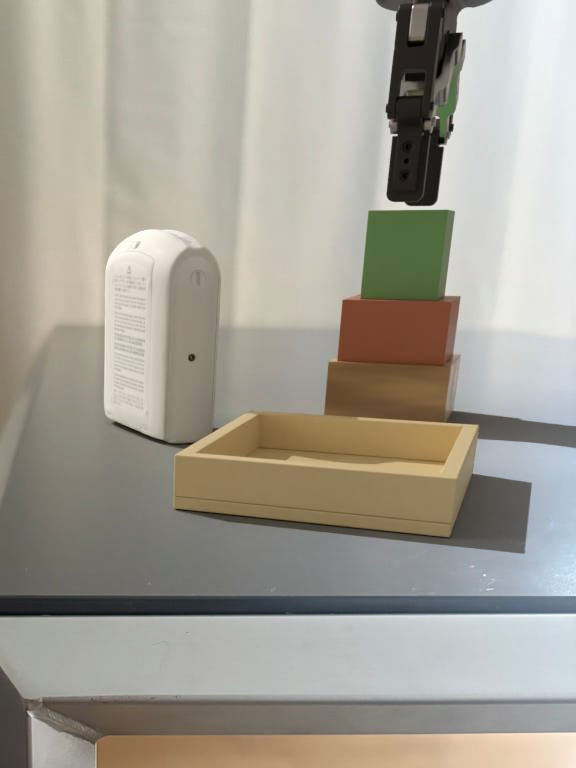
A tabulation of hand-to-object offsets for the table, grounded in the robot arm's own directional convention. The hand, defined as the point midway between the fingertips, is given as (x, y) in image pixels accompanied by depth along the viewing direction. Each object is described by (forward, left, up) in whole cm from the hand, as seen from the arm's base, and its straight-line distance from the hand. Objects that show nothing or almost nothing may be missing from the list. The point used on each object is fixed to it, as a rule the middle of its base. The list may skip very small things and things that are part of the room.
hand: (412, 204), depth 66 cm
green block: (0, 0, -6) cm, 6 cm away
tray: (+24, +1, -14) cm, 28 cm away
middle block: (0, 0, -10) cm, 10 cm away
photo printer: (+12, -13, -14) cm, 23 cm away
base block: (0, 0, -14) cm, 14 cm away
